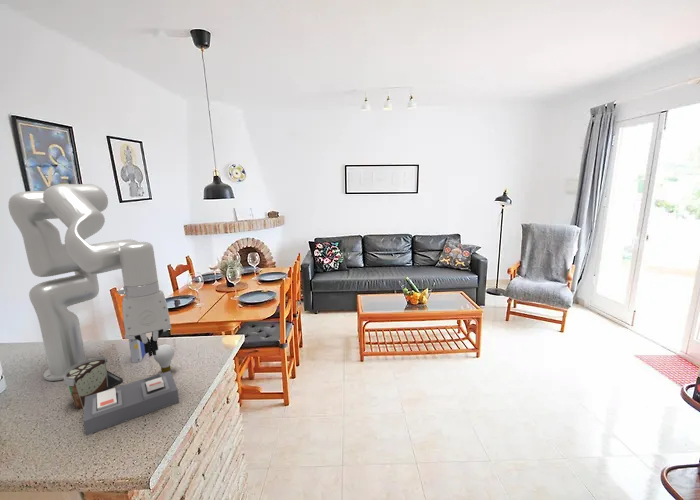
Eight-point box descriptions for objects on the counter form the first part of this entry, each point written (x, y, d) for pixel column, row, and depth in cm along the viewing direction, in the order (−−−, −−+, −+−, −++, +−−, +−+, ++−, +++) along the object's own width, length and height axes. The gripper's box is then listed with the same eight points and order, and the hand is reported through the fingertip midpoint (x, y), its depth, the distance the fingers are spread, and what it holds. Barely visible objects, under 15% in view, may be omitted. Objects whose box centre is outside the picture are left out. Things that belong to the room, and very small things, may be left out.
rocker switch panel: (87, 409, 91) (84, 393, 90) (171, 382, 103) (170, 367, 102) (85, 435, 82) (82, 417, 81) (179, 401, 94) (177, 386, 93)
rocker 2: (146, 386, 94) (145, 381, 94) (161, 381, 96) (161, 376, 96) (147, 391, 90) (147, 387, 90) (164, 386, 92) (163, 381, 92)
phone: (101, 367, 111) (124, 379, 104) (101, 370, 111) (124, 383, 104) (73, 378, 105) (95, 393, 97) (73, 381, 105) (95, 396, 97)
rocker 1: (97, 396, 88) (96, 393, 87) (115, 391, 90) (115, 387, 90) (98, 411, 84) (97, 407, 83) (117, 405, 86) (116, 401, 85)
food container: (92, 385, 102) (87, 355, 100) (111, 385, 102) (106, 355, 100) (56, 411, 90) (49, 379, 88) (78, 412, 90) (72, 379, 88)
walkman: (139, 352, 122) (134, 322, 120) (147, 351, 123) (143, 321, 121) (131, 363, 115) (126, 331, 113) (140, 361, 116) (135, 330, 113)
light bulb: (167, 379, 105) (163, 350, 103) (152, 377, 106) (147, 348, 104) (180, 369, 111) (177, 341, 109) (165, 367, 112) (161, 340, 110)
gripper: (107, 299, 78) (119, 369, 82) (176, 286, 87) (185, 350, 90) (106, 292, 84) (118, 357, 88) (171, 281, 93) (179, 341, 96)
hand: (152, 353), depth 89 cm, fingers closed
